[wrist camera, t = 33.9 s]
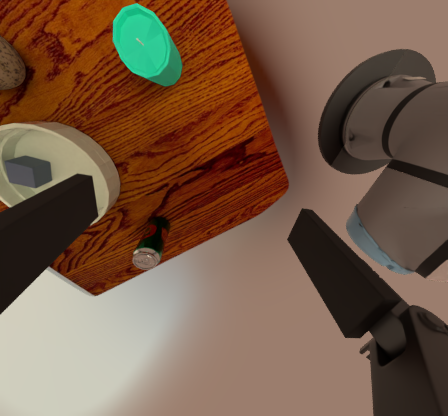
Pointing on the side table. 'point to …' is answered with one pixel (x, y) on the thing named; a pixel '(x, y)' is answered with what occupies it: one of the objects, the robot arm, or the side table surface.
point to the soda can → (151, 244)
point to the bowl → (57, 160)
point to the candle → (146, 45)
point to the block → (28, 171)
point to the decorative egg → (10, 66)
